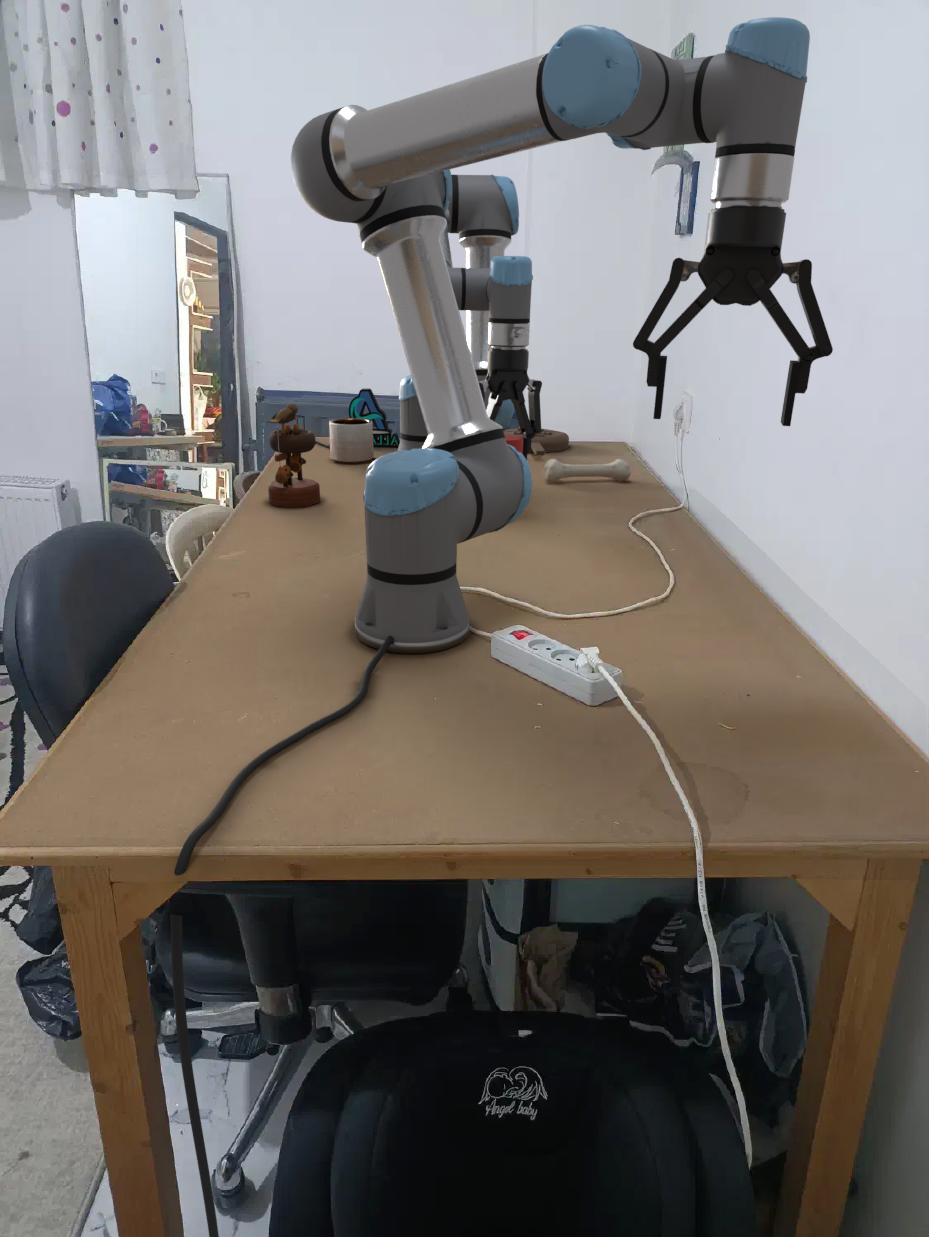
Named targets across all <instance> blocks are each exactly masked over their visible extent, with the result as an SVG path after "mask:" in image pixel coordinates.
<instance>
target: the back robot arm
mask: <svg viewBox="0 0 929 1237" xmlns="http://www.w3.org/2000/svg"><path fill="white" fill-rule="evenodd" d="M451 177H452V194H451V195H449V198H448V201H449V202H450V203H449V206H448V209H447V211H446V213H445V217H446V221H447V227H446V229H445V231H444V233H443V234H442V236H441V239H440V242H441V246H442V250H443V254H444V257H445V261H446V265H447V268H448V272H449V276H450V279H451V283H452V287H453V290H454V294H455V298H456V301H457V305H458V309H459V311H465V335H466V338H467V342H468V346H469V349H470V353H471V357H472V360H473V364H474V368H475V371H476V375H477V379H478V382H479V386H480V390H481V393H482V397H483V401H484V404H485V408H486V412H487V415H488V417H489V418H490V419H491V420H493V421H494V422H496V423H498V424H499V425H501V426H502V428H503V430H504V429H506V428H507V427H509V426H510V425H511V422H512V419H513V416H514V413H515V415H516V420H517V423H518V426H519V429H520V430H521V433H522V435H523V438H524V440H523V456H524V457H525V459H526V460H527V461H528V455H531V453H532V452H531V439H532V438H534V437H535V434H539V433H541V429H542V414H541V413H542V412H541V390H542V387H543V382H542V380H539V379H531V378H530V377H529V374H528V370H529V358H530V356H529V355H530V353H529V350H528V348H526V347H528V346H529V345H530V330H531V304H532V303H531V302H532V286H533V280H534V275H533V262H532V261H533V260H532V259H531V257H529V256H524V255H505V251H506V249H508V247H509V246H510V245H511V244H512V236H516V235H517V234H518V232H519V225H520V221H519V220H520V219H519V218H520V208H519V199H518V198H519V197H518V193H517V192H518V191H517V188H516V185H515V183H514V181H513V180H512V179H511V178H510V177H508V176H503V175H494V174H451ZM449 234H458V237H459V238H458V244H460V246H461V247H462V248H463V249H464V250H465V267H454V266H453V260H452V251H451V244H450V239H449V238H450V237H449ZM526 388H527V390H528V392H527V399H528V400H527V401H528V411H527V407H526V399H525V395H524V391H525V389H526ZM398 400H399V439H400V444H399V447H397V450H396V451H400V450H407V451H409V450H411V449H415V448H422V447H423V445H424V443H425V441H426V439H427V436H428V432H427V429H426V425H425V422H424V418H423V415H422V411H421V408H420V404H419V401H418V397H417V394H416V390H415V387H414V383H413V380H412V376H411V374H409V375H406V376H404V377H403V378H402V379H401V381H400V383H399V396H398ZM315 444H319V445H322V446H324V447H327V448H329V449H330V443H326V442H324V441H321V440H318V439H316V443H315ZM377 458H378V457H377ZM377 458H376V457H373V459H372V460H371V461H372V462H373V461H375V460H376V459H377Z"/></svg>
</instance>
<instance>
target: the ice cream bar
mask: <svg viewBox="0 0 929 1237" xmlns="http://www.w3.org/2000/svg"><path fill="white" fill-rule="evenodd" d="M503 432H504V434H512V435H519V436H522V437H523V435H522V433H521V430H520V428H511V429H505V430H503ZM569 446H570V436H569V435H568V434H567V433H566V432H563V431H559V430H554V429H547V428H541V433H539V434H535V437H534V438H532V439H531V452H530V453H533V454H534V455H535V456H539V457H541V456H545V453H552V452H553V453H554V452H560V451H564V450H567V449H568V448H569Z"/></svg>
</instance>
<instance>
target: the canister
mask: <svg viewBox="0 0 929 1237" xmlns="http://www.w3.org/2000/svg"><path fill="white" fill-rule="evenodd" d="M504 435H505V439H506V443H507V444H508V445H511V446H513V447H515V448H516V450H517V451H518V452H521V453H522V454H523V440H524V438H523V437H522V436H519V435H512V434H504Z"/></svg>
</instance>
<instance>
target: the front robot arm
mask: <svg viewBox="0 0 929 1237" xmlns="http://www.w3.org/2000/svg"><path fill="white" fill-rule="evenodd" d="M810 40H811V34H810V30H809V29H808V27H807V25H806V24H804V23H803V22H802V21H800V20H798V19H795V18H791V17H781V16H780V17H777V16H775V17H774V16H772V17H771V16H770V17H760V18H755V19H750V20H748V21H746V22H740V23H738V24H736V25H735V26H733V28H732V29H731V30H730V32H729V34H728V39H727V44H726V45H725V49H724V52H722V53H717V54H713V55H709V56H701V57H700V56H699V57H692V58H681V59H673V58H672V57H669V56H667V55H665V54H663V53H660V52H658V51H656V50H654V49H651V48H650V47H647V46H645V45H642V44H641V43H639V42H636V41H634V40H632V39H630V38H629V37H626V35H624V34H622V33H621V32H619V31H617V30H616V29H614V28H607V27H605V26H598V25H593V24H580V25H577V26H574V27H572V28H570V29H567V31H565V32H564V33H563V34H562V35H561V36H560V37H559V38H558V40H557V41H556V42H555V43H554V44H553V45H552V46H551V48H550V49H549V52H547V53H545V54H541V55H538V56H534V57H532V58H529V59H526V60H523V61H519V62H516V63H514V64H509V65H507V66H504V67H501V68H497V69H494V70H491V71H488V72H485V73H482V74H478V75H475V76H473V77H469V78H465V79H464V80H460V81H456V82H453V83H450V84H446V85H444V86H441V87H437V88H434V89H431V90H427V91H425V92H422V93H418V94H415V95H412V96H409V97H406V98H403V99H400V100H397V101H393V102H390V103H387V104H383V105H381V106H378V107H375V108H372V109H371V108H370V109H366V108H364V106H361V105H358V104H350V105H345V106H342V107H340V108H336V109H333V110H330V111H327V112H325V113H321V114H319V115H317V116H315V117H313V118H312V119H310V120H309V121H307V122H306V123H305V124H304V125H303V126H302V128H301V129H300V130H299V131H298V133H297V135H296V137H295V139H294V141H293V145H292V147H291V153H290V171H291V177H292V181H293V184H294V186H295V189H296V190H297V192H298V194H299V195H300V197H301V199H302V200H303V201H304V203H305V204H306V205H307V206H308V207H309V208H310V209H311V210H312V211H313V212H314V213H316V214H318V215H320V216H321V217H323V218H324V219H328V220H331V221H334V222H338V223H339V222H340V223H349V224H355V225H356V228H357V232H358V236H359V238H360V242H361V245H362V248H363V251H364V252H366V253H367V254H369V255H371V256H373V257H375V258H376V259H377V260H378V263H379V267H380V270H381V274H382V277H383V278H382V279H383V281H384V285H385V288H386V291H387V295H388V298H389V302H390V306H391V309H392V314H393V317H394V320H395V323H396V326H397V330H398V334H399V338H400V341H401V345H402V348H403V351H404V355H405V358H406V362H407V366H408V370H409V373H410V375H411V376H412V380H413V383H414V387H415V390H416V394H417V397H418V401H419V404H420V408H421V411H422V415H423V418H424V422H425V425H426V429H427V432H428V436H427V439H426V441H425V443H424V445H423V447H422V448H415V449H411V450H409V451H407V450H400V451H397V450H396V451H392V452H389V453H386V454H383V455H381V456H379V457H377V459H376V460H375V461H373V460H372V462H371V463H370V464H369V466H367V469H366V471H365V475H364V491H363V496H362V498H363V500H362V501H363V505H364V522H365V523H364V525H365V526H364V527H365V550H366V579H365V584H364V586H363V589H362V592H361V596H360V600H359V602H358V606H357V609H356V612H355V618H354V633H355V636H356V638H357V639H358V640H359V641H360V642H362V643H363V644H365V645H367V646H368V647H371V648H374V649H377V651H376V653H375V655H373V657H372V659H371V660H370V662H369V663H368V665H367V666H366V668H365V669H364V671H363V674H362V676H361V679H360V684H359V689H358V690H357V693H356V695H355V696H354V697H353V699H352V700H350V702H348V703H347V704H346V705H344V706H343V707H341V708H339V709H337V710H335V711H334V712H332V713H330V714H328V715H326V716H324V717H322V718H319V719H318V720H316V721H314V722H312V723H310V724H308V725H307V726H305V727H303V728H301V729H300V730H298V731H297V732H295V733H292V734H291V735H289V736H288V737H286V738H284V739H282V740H281V741H278V742H277V743H275V744H274V745H273V746H270V747H269V748H267V749H266V750H264V751H263V752H262V753H260V754H259V755H257V756H256V757H255V758H254V759H252V760H251V761H250V762H249V763H248V764H247V765H246V766H244V767H243V769H242V770H241V771H240V772H239V773H238V774H237V775H236V776H235V778H234V779H233V780H232V781H231V783H230V784H229V786H228V787H227V789H226V790H225V791H224V793H223V794H222V796H221V798H220V799H219V800H218V802H217V803H216V805H215V806H214V808H213V809H212V811H210V813H209V814H208V816H206V817H205V819H204V820H203V821H202V822H201V823H199V824H198V825H197V827H195V828H194V829H193V830H192V831H191V833H189V836H188V837H187V838H186V840H185V842H184V843H183V846H182V848H181V849H180V852H179V855H178V857H177V860H176V864H175V868H174V872H173V874H174V876H181V875H183V874H185V873H186V871H187V869H188V866H189V862H190V859H191V857H192V855H193V851H194V849H195V847H196V846H197V844H198V842H199V841H200V839H201V838H202V837H203V836H204V835H205V834H206V833H207V832H208V831H209V830H210V829H211V828H212V827H213V826H214V825H215V824H217V821H219V819H220V818H221V817H222V815H223V814H224V813H225V811H226V809H227V808H228V806H229V805H230V803H231V802H232V800H233V798H234V797H235V795H236V794H237V792H238V791H239V789H240V787H241V786H242V785H243V783H244V782H245V781H246V780H247V778H249V776H251V774H252V773H253V772H255V771H256V770H257V769H258V768H259V767H260V766H262V765H264V763H266V762H267V761H268V760H269V759H270V760H271V758H272V757H274V756H275V755H277V754H279V753H281V752H282V751H284V750H285V749H287V748H289V747H290V746H293V745H295V744H296V743H298V742H300V741H301V740H303V739H304V738H306V737H308V736H309V735H311V734H313V733H315V732H316V731H318V730H320V729H322V728H324V727H326V726H327V725H329V724H332V723H334V722H336V721H337V720H339V719H341V718H343V717H345V716H347V715H348V714H349V713H351V712H352V711H353V710H354V709H356V708H357V706H359V705H360V704H361V703H362V701H363V700H364V698H365V696H366V694H367V690H368V687H369V686H368V685H369V680H370V678H371V675H372V673H373V672H374V670H375V669H376V667H377V666H378V664H379V663H380V661H381V660H382V658H383V657H384V656H385V655H386V653H387V652H390V653H396V654H397V653H398V654H425V653H433V652H439V651H443V650H446V649H449V648H452V647H455V646H457V645H458V644H460V643H462V642H463V641H464V640H466V639H467V637H468V636H469V634H470V616H469V612H468V608H467V606H466V601H465V599H464V596H463V593H462V589H461V586H460V583H459V581H458V577H457V561H458V560H457V559H458V558H457V557H458V556H457V554H458V545H459V544H461V543H465V542H467V541H469V540H473V539H475V538H478V537H480V536H484V535H486V534H491V533H493V532H498V531H500V530H503V529H504V528H505V527H506V526H509V525H510V524H512V523H513V522H516V520H518V519H519V518H520V517H521V516H522V515H523V513H524V512H525V510H526V508H527V506H528V505H529V503H530V500H531V497H532V493H533V492H532V491H533V476H532V471H531V467H530V464H529V462H528V459H527V460H526V459H525V457H524V456H523V454H522V453H521V452H518V451H517V450H516V448H515V447H513V446H511V445H508V444H507V443H506V439H505V435H504V432H503V431H504V429H503V428H502V426H501V425H499V424H498V423H496V422H494V421H493V420H491V419H490V418H489V417H488V415H487V412H486V408H485V404H484V401H483V397H482V393H481V390H480V386H479V382H478V379H477V375H476V371H475V368H474V364H473V360H472V357H471V353H470V349H469V346H468V342H467V338H466V330H465V328H464V324H463V320H462V315H461V313H460V310H459V309H458V305H457V301H456V298H455V294H454V290H453V287H452V283H451V279H450V276H449V272H448V268H447V265H446V261H445V257H444V254H443V250H442V246H441V242H440V239H441V236H442V234H443V233H444V231H445V229H446V227H447V221H446V217H445V213H446V211H447V209H448V206H449V203H450V202H449V201H448V198H449V195H451V194H452V177H451V175H452V172H451V171H452V170H453V169H457V168H461V167H465V166H468V165H469V166H470V165H473V164H477V163H480V162H481V163H482V162H485V161H489V160H493V159H497V158H501V157H505V156H508V155H513V154H517V153H521V152H525V151H529V150H532V149H536V148H542V147H544V146H549V145H552V144H557V143H560V142H566V141H571V140H576V139H579V138H583V137H584V138H585V137H588V136H592V135H595V134H606V135H607V137H609V138H610V141H611V143H612V144H613V145H614V146H615V147H616V148H619V149H624V150H625V149H627V150H628V149H637V150H642V151H647V150H651V149H653V148H663V147H675V146H685V145H695V144H696V145H697V144H714V143H716V145H715V155H714V163H713V171H712V180H711V181H712V182H711V189H710V197H709V201H710V202H711V203H712V204H715V206H714V207H715V208H712V209H711V210H710V212H709V213H708V214H707V215H708V216H707V223H706V234H705V242H704V252H703V255H702V258H701V260H700V261H694V260H686V259H683V258H682V257H676V258H675V259H673V261H672V265H671V268H670V274H669V278H668V281H667V282H666V284H665V286H664V288H663V290H662V291H661V293H660V295H659V296H658V299H657V300H656V301H655V303H654V305H653V307H652V309H651V310H650V312H649V314H648V315H647V317H646V319H645V321H644V323H643V324H642V326H641V328H640V329H639V331H638V333H637V334H636V336H635V338H634V340H633V342H632V346H633V349H635V350H637V351H641V352H642V353H645V354H646V355H647V358H648V359H647V360H648V361H647V371H646V381H645V382H646V385H647V387H650V388H651V387H652V388H653V387H654V388H655V399H654V408H653V420H661V419H662V412H663V402H664V391H665V383H666V373H667V372H666V371H667V364H668V363H667V362H668V355H662V352H663V351H664V350H665V349H666V348H667V347H668V346H669V345H670V344H671V343H672V341H674V340H675V339H676V337H677V336H679V335H680V334H681V332H682V331H683V330H684V329H685V328H686V327H687V326H688V325H689V324H690V323H691V322H692V321H693V320H694V319H695V318H696V317H697V316H698V315H699V313H701V311H702V310H703V309H704V308H706V306H708V304H709V303H710V302H711V301H713V302H714V303H716V304H718V305H720V306H729V305H735V304H737V305H741V306H746V307H747V306H749V307H752V306H753V305H755V304H758V303H759V302H760V303H761V304H762V306H763V307H764V309H765V310H766V312H767V313H768V315H769V316H770V317H771V319H772V320H773V323H775V325H776V326H777V328H778V329H779V331H780V332H781V333H782V335H783V337H784V338H785V340H786V341H787V342H788V344H789V346H790V347H791V348H792V349H793V351H794V353H795V354H796V355H797V360H789V364H788V365H789V367H788V372H787V377H786V378H787V379H786V383H785V384H786V385H785V392H784V398H783V404H782V410H781V416H780V423H781V425H782V426H783V427H791V423H792V418H793V413H794V412H793V411H794V405H795V400H796V394H806V391H807V390H808V386H809V385H808V384H809V381H810V374H811V368H812V364H813V363H814V361H816V360H818V359H822V358H824V357H829V356H831V355H832V354H833V351H834V348H833V345H832V341H831V339H830V337H829V332H828V329H827V327H826V323H825V321H824V317H823V314H822V312H821V308H820V305H819V303H818V300H817V297H816V294H815V291H814V287H813V284H812V277H813V276H812V274H813V272H812V271H813V262H812V261H811V260H810V259H809V258H808V259H807V258H805V259H801V260H799V261H794V262H783V260H782V246H783V239H784V233H785V225H786V220H787V219H786V218H787V212H786V211H785V209H784V208H783V207H782V204H785V203H787V201H789V197H790V192H791V184H792V177H793V171H794V170H793V169H794V164H795V153H796V145H797V139H798V133H799V128H800V121H801V115H802V107H803V101H804V95H805V89H806V84H807V83H808V76H807V74H808V73H807V72H808V62H809V52H810ZM694 273H697V275H698V277H699V279H700V280H701V282H702V284H703V286H704V287H705V288H704V289H703V290H702V292H701V293H699V295H697V297H696V298H695V299H694V300H693V301H692V302H691V303H690V304H689V305H688V306H687V308H685V309H684V311H683V312H682V313H680V315H679V316H678V317H677V318H676V319H675V320H674V321H673V322H672V324H670V325H669V326H668V327H667V329H665V331H664V332H662V334H661V335H660V336H659V337H658V338H657V339H656V340H655V341H652V340H650V339H649V338H650V337H651V335H652V334H653V331H654V330H655V328H656V327H657V324H658V323H659V322H660V320H661V318H662V316H663V314H664V313H665V311H666V309H667V307H668V306H669V304H670V302H671V301H672V299H673V297H674V295H675V294H676V292H677V290H678V289H679V287H680V284H681V282H687V281H689V279H690V277H691V275H692V274H694ZM782 275H786V276H787V278H788V281H789V283H790V284H795V286H796V291H797V295H798V297H799V300H800V303H801V306H802V310H803V312H804V316H805V318H806V321H807V324H808V327H809V330H810V334H811V336H812V339H813V343H814V345H813V346H808V343H806V340H805V339H804V338H803V336H802V335H801V334H800V332H799V330H798V329H797V328H796V326H795V325H794V323H793V322H792V320H791V319H790V317H789V315H788V314H787V313H786V311H785V310H784V308H783V307H782V305H781V304H780V302H779V300H778V299H777V297H776V296H775V294H774V293H773V291H772V290H771V288H772V287H773V286H774V285H775V284H776V283H777V281H778V280H779V279H780V278H781V277H782ZM170 953H171V954H170V957H171V958H170V960H171V975H172V976H171V978H172V992H173V995H172V996H173V1006H174V1015H175V1024H176V1025H175V1027H176V1036H177V1043H178V1051H179V1058H180V1064H181V1070H182V1071H181V1072H182V1078H183V1079H182V1080H183V1085H184V1090H185V1097H186V1103H187V1109H188V1115H189V1120H190V1121H189V1122H190V1126H191V1132H192V1133H191V1134H192V1138H193V1143H194V1144H193V1145H194V1150H195V1156H196V1160H197V1161H196V1162H197V1167H198V1174H199V1179H200V1185H201V1192H202V1197H203V1204H204V1209H205V1210H204V1211H205V1216H206V1217H205V1218H206V1223H207V1231H208V1237H220V1235H219V1228H218V1226H219V1225H218V1219H217V1213H216V1206H215V1200H214V1194H213V1186H212V1180H211V1173H210V1169H209V1162H208V1156H207V1155H208V1154H207V1150H206V1143H205V1139H204V1131H203V1126H202V1120H201V1113H200V1108H199V1107H200V1106H199V1102H198V1094H197V1088H196V1082H195V1074H194V1067H193V1060H192V1053H191V1046H190V1038H189V1028H188V1019H187V1018H188V1017H187V1009H186V1008H187V1007H186V994H185V979H184V960H183V958H184V957H183V915H179V914H170Z"/></svg>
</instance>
